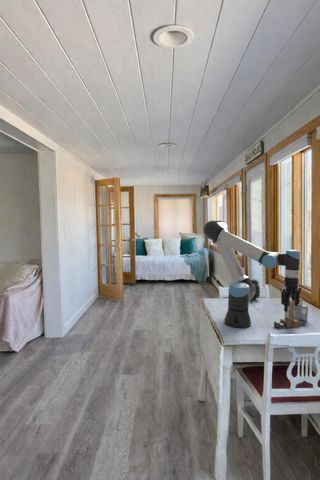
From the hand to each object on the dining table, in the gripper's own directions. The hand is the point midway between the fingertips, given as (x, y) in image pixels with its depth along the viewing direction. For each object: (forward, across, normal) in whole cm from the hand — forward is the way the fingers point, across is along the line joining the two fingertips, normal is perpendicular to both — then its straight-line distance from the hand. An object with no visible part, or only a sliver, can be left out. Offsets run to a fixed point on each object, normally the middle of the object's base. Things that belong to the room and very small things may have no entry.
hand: (289, 316), depth 182 cm
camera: (+6, +17, +57) cm, 60 cm away
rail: (+6, +1, 0) cm, 6 cm away
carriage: (+6, 0, 0) cm, 6 cm away
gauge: (-1, +15, +8) cm, 17 cm away
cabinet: (+6, +15, +8) cm, 18 cm away
